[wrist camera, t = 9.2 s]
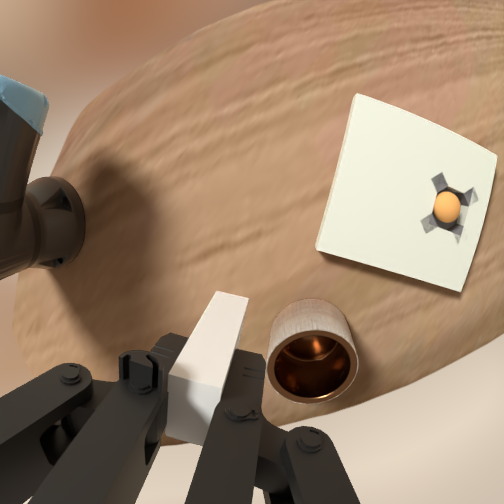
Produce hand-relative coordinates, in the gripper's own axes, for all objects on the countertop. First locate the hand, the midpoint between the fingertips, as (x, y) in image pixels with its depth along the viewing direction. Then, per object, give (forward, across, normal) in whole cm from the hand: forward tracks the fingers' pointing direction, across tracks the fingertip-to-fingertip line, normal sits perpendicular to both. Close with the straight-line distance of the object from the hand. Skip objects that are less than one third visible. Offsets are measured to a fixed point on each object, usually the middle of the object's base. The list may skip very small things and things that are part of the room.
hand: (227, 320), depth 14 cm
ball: (+24, +23, +9) cm, 34 cm away
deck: (+26, +18, +9) cm, 33 cm away
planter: (+26, +9, -13) cm, 31 cm away
